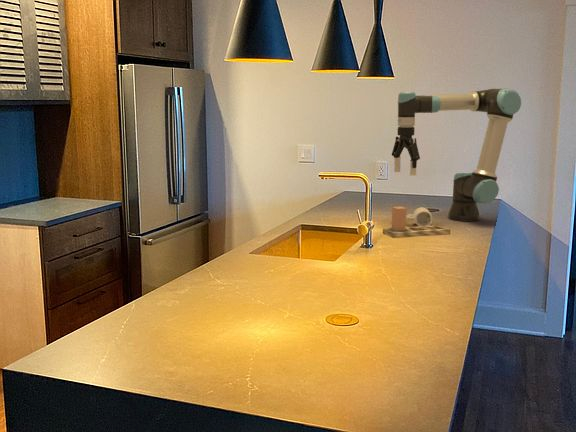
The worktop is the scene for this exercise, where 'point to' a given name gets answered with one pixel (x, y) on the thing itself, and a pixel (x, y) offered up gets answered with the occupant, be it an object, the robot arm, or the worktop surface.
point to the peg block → (399, 218)
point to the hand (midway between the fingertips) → (404, 173)
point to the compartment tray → (417, 231)
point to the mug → (421, 217)
